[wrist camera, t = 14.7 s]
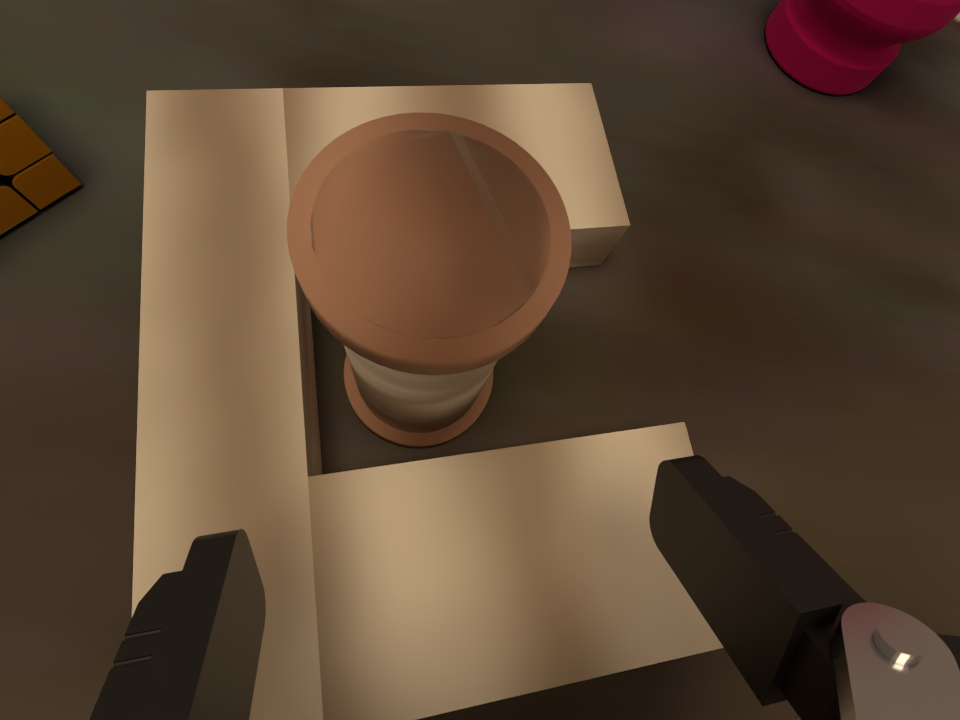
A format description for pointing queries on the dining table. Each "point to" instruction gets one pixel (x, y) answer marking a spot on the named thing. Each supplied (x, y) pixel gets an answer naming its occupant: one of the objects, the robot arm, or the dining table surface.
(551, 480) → the notch board
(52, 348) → the dining table surface
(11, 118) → the puzzle toy
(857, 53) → the pepper mill
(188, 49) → the dining table surface
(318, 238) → the spool
